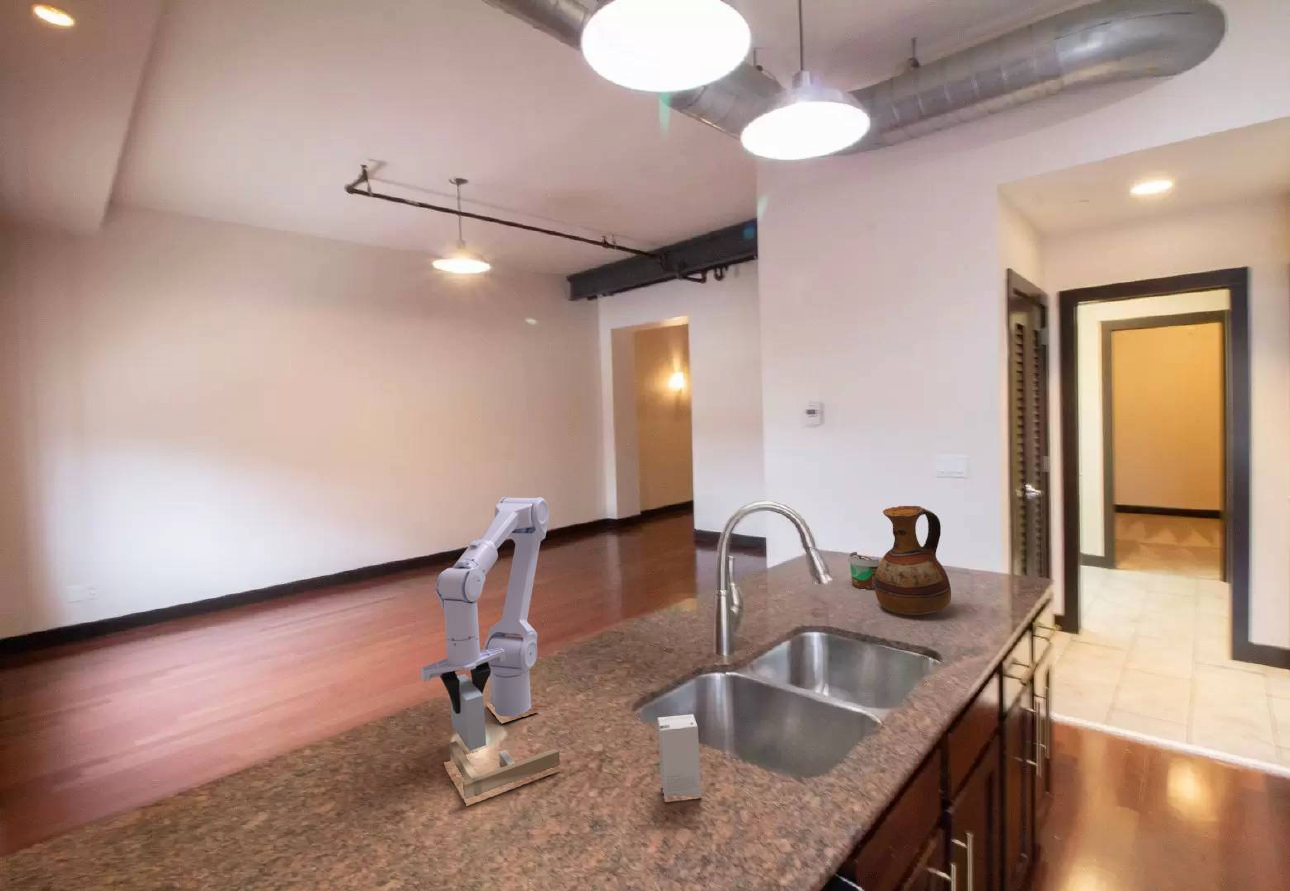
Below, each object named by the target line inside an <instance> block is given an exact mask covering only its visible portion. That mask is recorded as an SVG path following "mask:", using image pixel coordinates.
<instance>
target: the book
mask: <svg viewBox="0 0 1290 891" xmlns="http://www.w3.org/2000/svg"><path fill="white" fill-rule="evenodd" d="M457 678H458V679H459V680H460V684H459V700H460V713H459V714H456V713H455V712H454V710H453V705H452V701H451V698H450V697H449V702H450V703H449V704H450V716H451V717H450V719H451V721H450V722H451V726H452V728H453V729H454V730H455V732H456V733H457V735H458V737H459V738H460V740H461V741H462V743H463V745H464V746H465V747H466V748H467V750H468V751H469V752H471V751H475V750H478V749H481V748H482V747H483V748H484V747H486V746H487V737H486V720H485V718H486V717H485V716H486V715H485V703H484V702H485V701H484V694H482V693H481V692H480V691H479V690H478V689H477V687H476V686H475V685H474V684H473V683H472V679H470V678H469V676H468V675H467V674H466V673H462V674H457Z"/></svg>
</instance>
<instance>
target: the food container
mask: <svg viewBox="0 0 1290 891" xmlns="http://www.w3.org/2000/svg"><path fill="white" fill-rule="evenodd" d="M847 563H848V564H850V565H849V566H850V578H851V585H852V587H853V588H854V587H855V589H858V590H861V589H866V590H865V591H875V576H876V571H877V568H878V565H879V563H880V559H872V558H870V557H868V556H863V555H859V554H858V552H857V551H853V552H851V553H849V555H848V558H847Z"/></svg>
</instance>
